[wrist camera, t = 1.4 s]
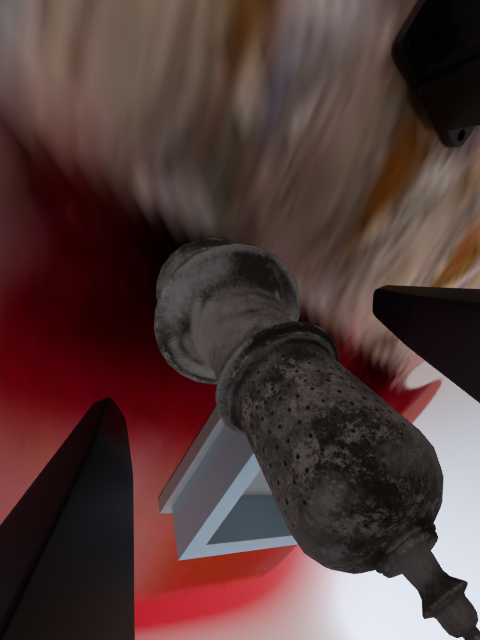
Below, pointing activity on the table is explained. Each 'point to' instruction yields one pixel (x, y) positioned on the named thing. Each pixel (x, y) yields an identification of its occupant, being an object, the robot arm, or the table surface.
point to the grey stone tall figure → (308, 421)
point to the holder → (222, 498)
